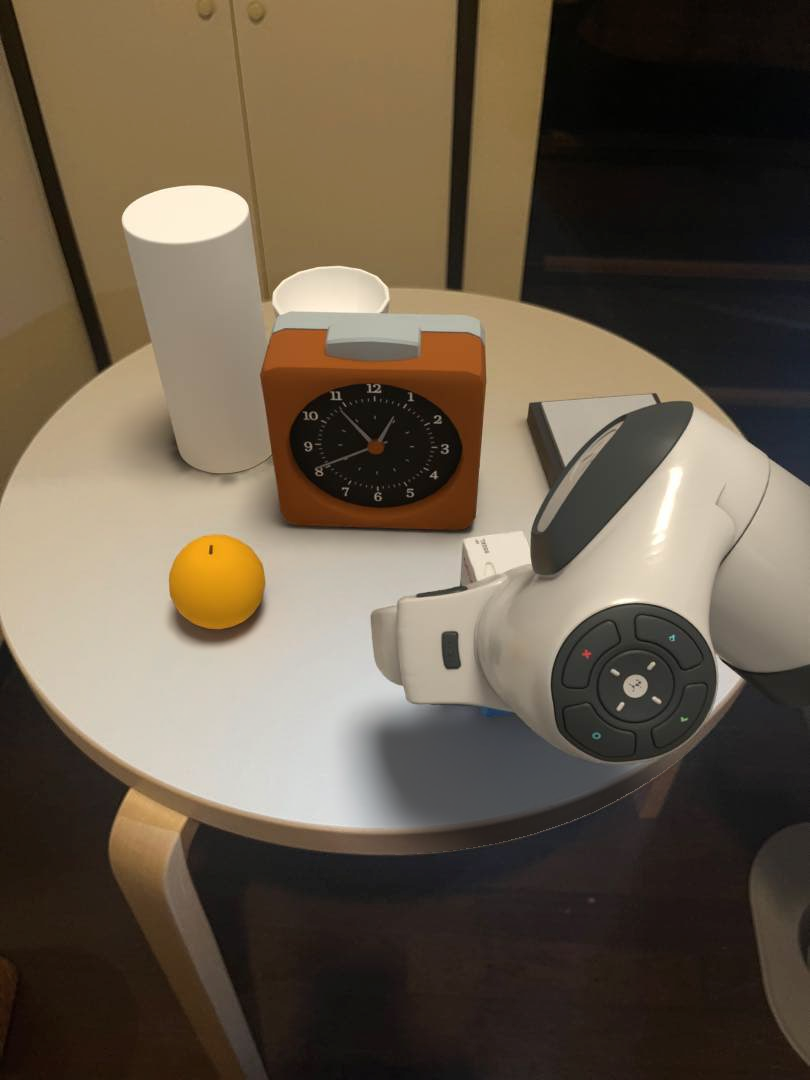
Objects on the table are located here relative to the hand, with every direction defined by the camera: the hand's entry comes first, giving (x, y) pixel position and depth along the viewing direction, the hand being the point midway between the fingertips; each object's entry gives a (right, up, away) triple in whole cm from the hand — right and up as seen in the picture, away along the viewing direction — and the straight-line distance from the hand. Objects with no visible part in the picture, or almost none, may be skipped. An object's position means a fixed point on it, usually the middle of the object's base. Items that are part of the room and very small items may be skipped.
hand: (500, 614), depth 65 cm
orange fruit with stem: (-23, 0, +10) cm, 25 cm away
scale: (+14, +15, +24) cm, 31 cm away
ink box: (0, -5, +4) cm, 7 cm away
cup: (-15, +24, +33) cm, 43 cm away
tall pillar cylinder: (-26, +16, +26) cm, 40 cm away
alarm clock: (-10, +9, +20) cm, 24 cm away
